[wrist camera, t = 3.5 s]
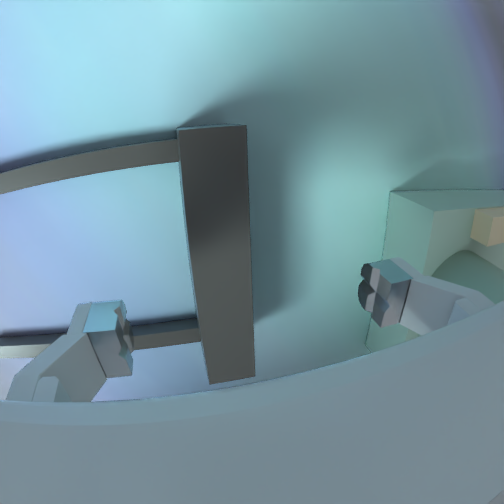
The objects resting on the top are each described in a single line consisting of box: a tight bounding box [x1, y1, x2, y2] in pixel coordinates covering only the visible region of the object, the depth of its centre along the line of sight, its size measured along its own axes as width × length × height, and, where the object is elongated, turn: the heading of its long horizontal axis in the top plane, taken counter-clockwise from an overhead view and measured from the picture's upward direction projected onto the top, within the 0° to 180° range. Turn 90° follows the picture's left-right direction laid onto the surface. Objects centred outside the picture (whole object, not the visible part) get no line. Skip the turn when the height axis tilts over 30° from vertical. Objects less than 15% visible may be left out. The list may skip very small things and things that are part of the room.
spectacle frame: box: [0, 124, 255, 384], centre depth 13 cm, size 12×16×4 cm
